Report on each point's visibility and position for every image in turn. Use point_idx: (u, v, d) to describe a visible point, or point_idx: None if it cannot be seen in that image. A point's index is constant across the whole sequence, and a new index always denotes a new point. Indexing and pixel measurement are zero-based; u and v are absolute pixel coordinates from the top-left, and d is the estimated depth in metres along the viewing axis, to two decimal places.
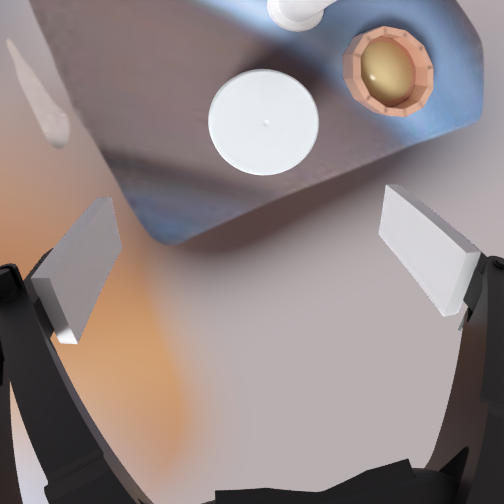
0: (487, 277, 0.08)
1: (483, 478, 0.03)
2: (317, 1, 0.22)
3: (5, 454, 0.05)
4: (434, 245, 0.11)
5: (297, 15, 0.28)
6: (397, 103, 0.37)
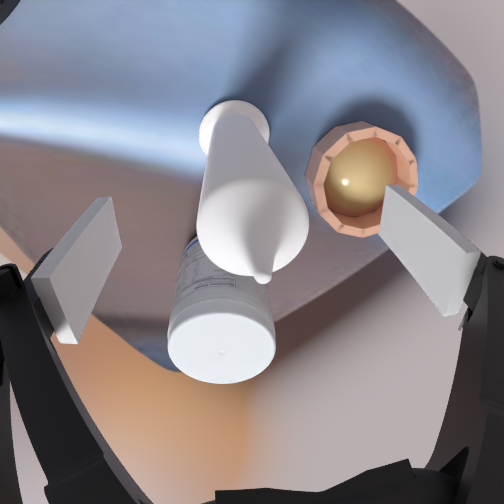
0: (487, 277, 0.08)
1: (483, 478, 0.03)
2: None
3: (6, 454, 0.05)
4: (434, 245, 0.11)
5: None
6: (378, 206, 0.36)
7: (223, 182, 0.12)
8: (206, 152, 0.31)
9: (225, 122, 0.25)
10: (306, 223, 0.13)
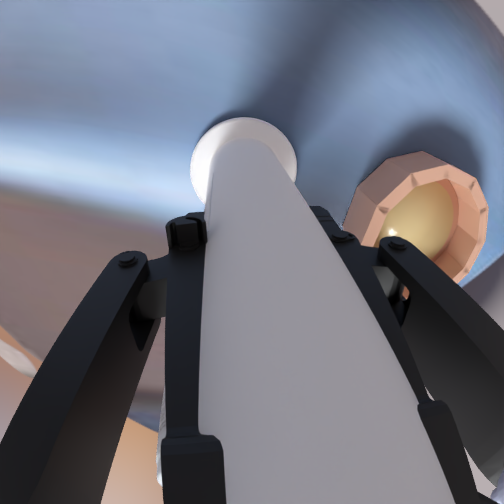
0: None
1: None
2: None
3: (116, 423, 0.06)
4: None
5: None
6: None
7: None
8: (202, 197, 0.21)
9: (232, 161, 0.15)
10: None
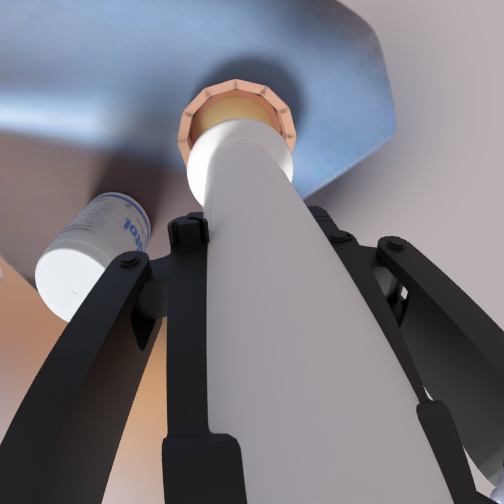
0: None
1: None
2: None
3: (116, 423, 0.06)
4: None
5: None
6: None
7: None
8: (197, 195, 0.21)
9: (233, 161, 0.15)
10: None
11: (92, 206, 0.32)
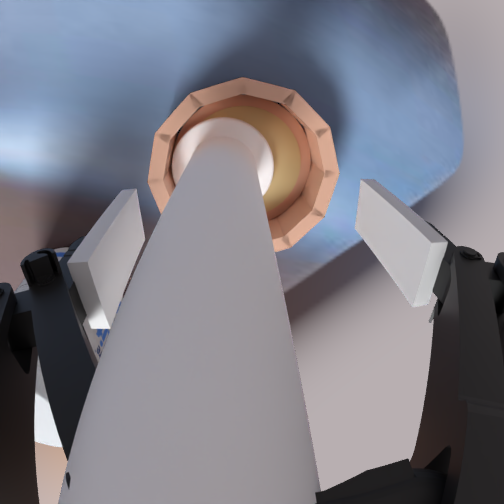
0: (455, 269, 0.08)
1: (469, 479, 0.03)
2: None
3: (26, 444, 0.05)
4: (402, 237, 0.11)
5: None
6: (283, 210, 0.25)
7: (92, 496, 0.03)
8: None
9: (203, 157, 0.16)
10: None
11: None
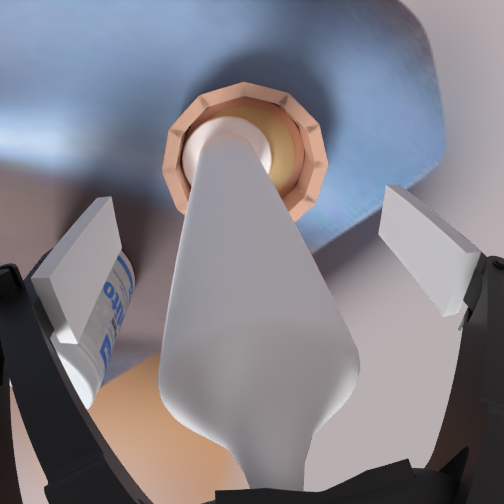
0: (487, 277, 0.08)
1: (483, 478, 0.03)
2: None
3: (6, 454, 0.05)
4: (434, 245, 0.11)
5: None
6: None
7: (210, 322, 0.06)
8: (190, 180, 0.25)
9: (217, 147, 0.19)
10: (355, 385, 0.07)
11: None
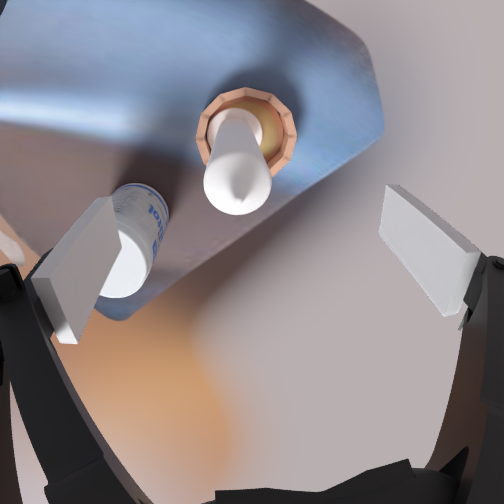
0: (487, 277, 0.08)
1: (483, 478, 0.03)
2: None
3: (6, 454, 0.05)
4: (434, 245, 0.11)
5: None
6: (268, 160, 0.42)
7: (222, 154, 0.20)
8: (211, 146, 0.40)
9: (228, 123, 0.33)
10: (269, 182, 0.21)
11: (119, 194, 0.38)
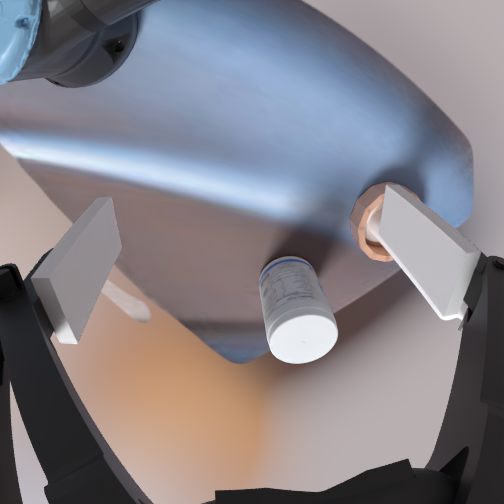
0: (487, 277, 0.08)
1: (483, 478, 0.03)
2: None
3: (5, 454, 0.05)
4: (434, 246, 0.11)
5: None
6: None
7: None
8: None
9: None
10: None
11: (291, 272, 0.46)
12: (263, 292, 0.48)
